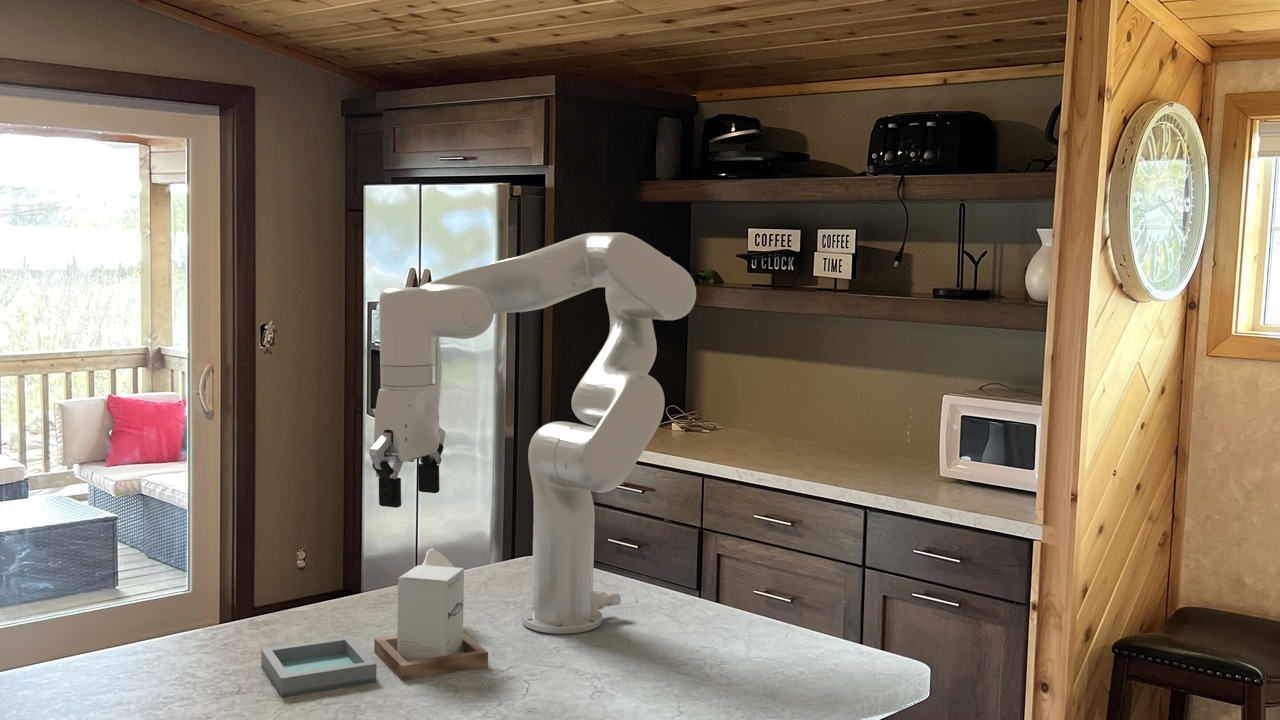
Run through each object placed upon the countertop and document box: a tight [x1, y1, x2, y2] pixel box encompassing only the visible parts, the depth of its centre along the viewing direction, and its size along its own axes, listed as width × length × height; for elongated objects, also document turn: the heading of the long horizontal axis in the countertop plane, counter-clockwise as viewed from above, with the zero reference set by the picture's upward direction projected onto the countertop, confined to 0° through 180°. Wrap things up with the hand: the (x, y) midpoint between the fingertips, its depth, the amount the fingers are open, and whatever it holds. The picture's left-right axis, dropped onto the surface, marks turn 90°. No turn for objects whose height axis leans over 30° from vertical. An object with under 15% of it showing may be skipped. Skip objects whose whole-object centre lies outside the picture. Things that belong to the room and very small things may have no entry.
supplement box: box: [396, 564, 465, 662], centre depth 160 cm, size 7×7×13 cm
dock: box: [260, 635, 378, 698], centre depth 154 cm, size 12×12×2 cm
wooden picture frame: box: [374, 631, 489, 681], centre depth 160 cm, size 12×12×2 cm
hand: (410, 499), depth 158 cm, fingers open, 9 cm apart
